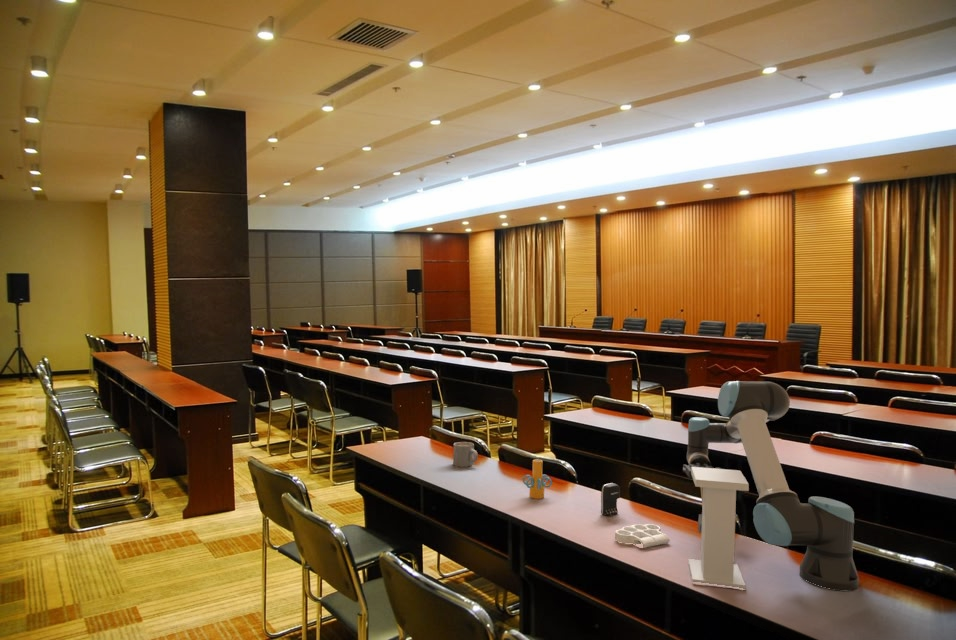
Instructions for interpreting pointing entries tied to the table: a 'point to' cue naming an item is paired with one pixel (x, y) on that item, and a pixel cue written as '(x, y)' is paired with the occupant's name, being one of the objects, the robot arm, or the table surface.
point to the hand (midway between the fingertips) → (706, 481)
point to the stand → (718, 526)
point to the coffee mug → (464, 454)
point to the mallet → (700, 514)
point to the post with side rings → (537, 480)
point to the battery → (609, 499)
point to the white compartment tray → (642, 535)
